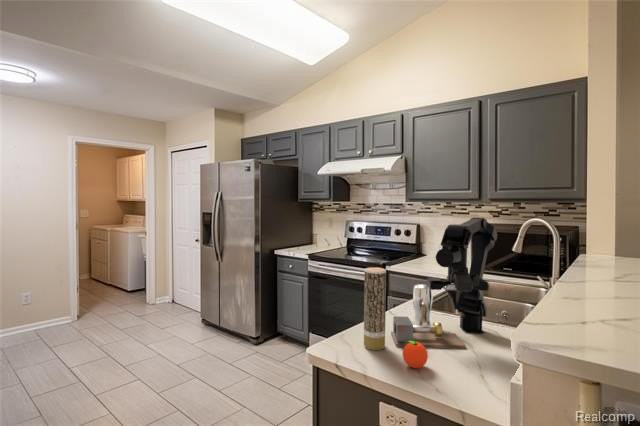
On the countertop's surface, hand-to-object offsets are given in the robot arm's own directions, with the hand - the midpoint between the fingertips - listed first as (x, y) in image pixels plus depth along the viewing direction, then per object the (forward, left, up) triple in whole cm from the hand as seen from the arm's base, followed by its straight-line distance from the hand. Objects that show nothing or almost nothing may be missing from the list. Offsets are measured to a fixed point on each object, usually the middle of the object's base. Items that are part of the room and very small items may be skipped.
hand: (456, 309), depth 115 cm
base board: (+9, 0, -11) cm, 15 cm away
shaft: (+11, 0, -9) cm, 14 cm away
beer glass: (+7, -14, -11) cm, 19 cm away
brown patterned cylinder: (+27, +5, -11) cm, 30 cm away
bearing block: (+17, 0, -11) cm, 21 cm away
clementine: (+18, +17, -11) cm, 27 cm away
